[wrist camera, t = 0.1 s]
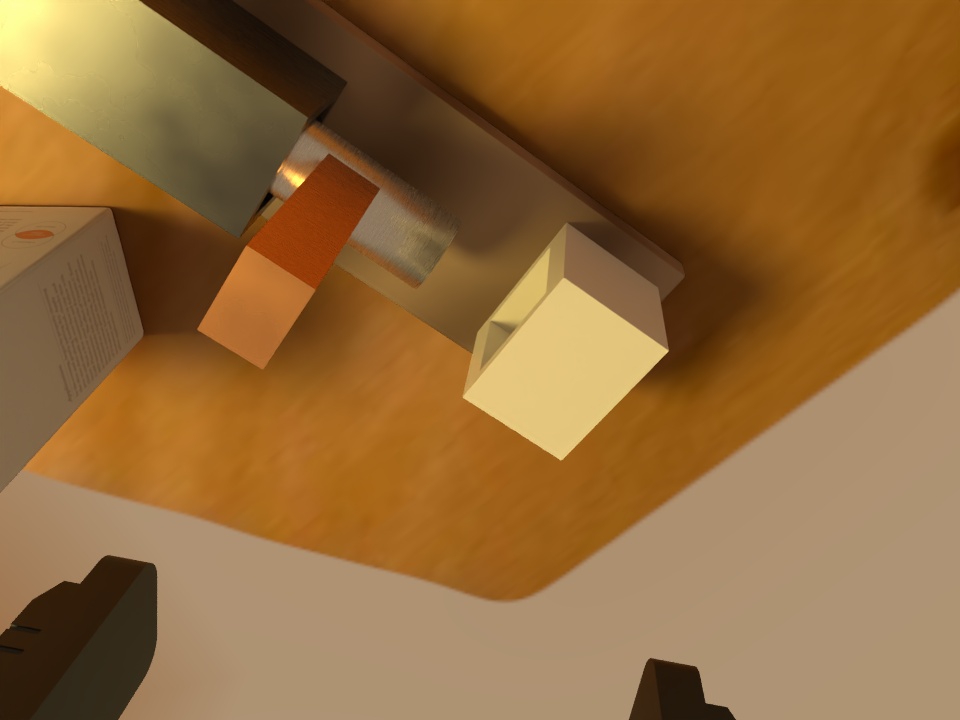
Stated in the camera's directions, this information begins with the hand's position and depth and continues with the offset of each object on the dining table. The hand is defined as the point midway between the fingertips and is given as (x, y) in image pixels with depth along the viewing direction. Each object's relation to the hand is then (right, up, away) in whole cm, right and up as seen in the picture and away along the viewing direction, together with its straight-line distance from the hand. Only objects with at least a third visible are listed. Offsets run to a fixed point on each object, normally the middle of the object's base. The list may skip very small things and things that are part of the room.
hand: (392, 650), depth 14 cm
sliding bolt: (-6, +13, +17) cm, 22 cm away
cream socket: (+5, +7, +20) cm, 22 cm away
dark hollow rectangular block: (-9, +16, +17) cm, 25 cm away
